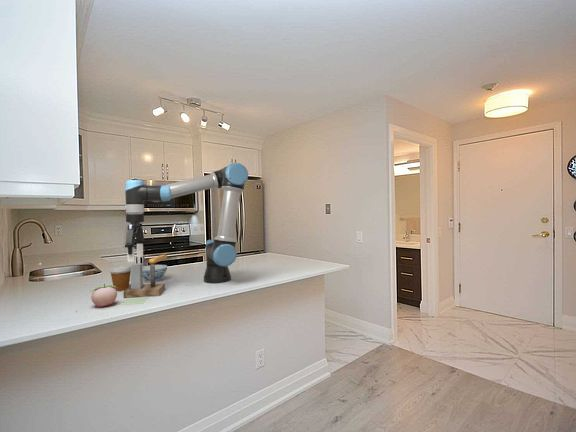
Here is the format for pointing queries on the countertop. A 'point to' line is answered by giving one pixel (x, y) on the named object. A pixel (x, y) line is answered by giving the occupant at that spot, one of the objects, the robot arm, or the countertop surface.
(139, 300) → the mat
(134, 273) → the gray square post
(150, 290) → the socket block
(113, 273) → the disposable coffee cup
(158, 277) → the chinaware
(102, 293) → the decorative fruit
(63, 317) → the countertop surface
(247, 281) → the countertop surface
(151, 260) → the clip
